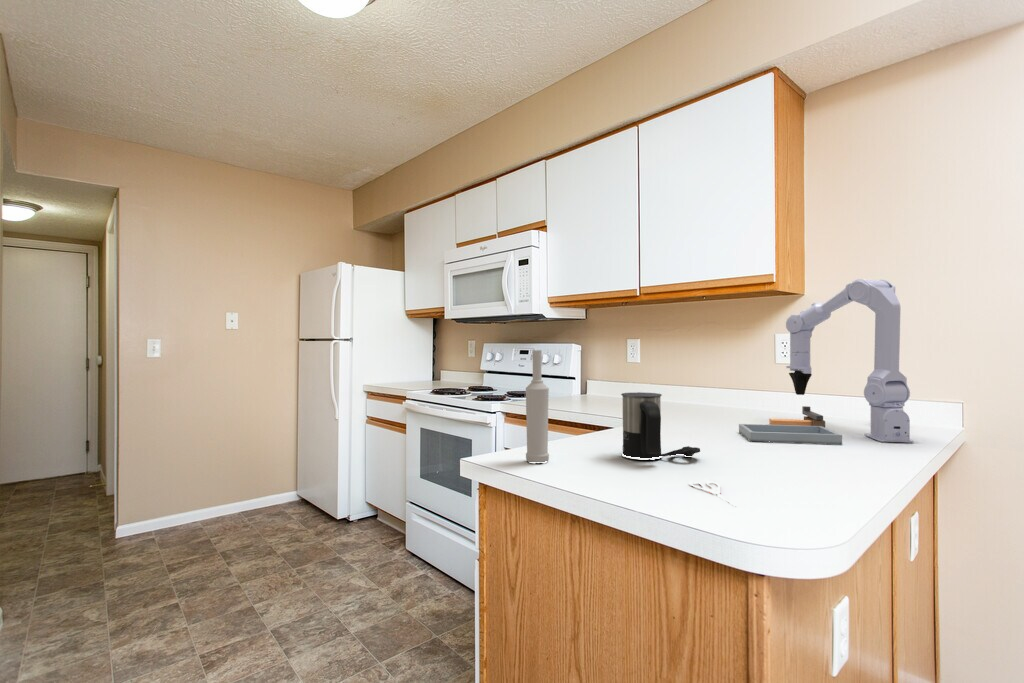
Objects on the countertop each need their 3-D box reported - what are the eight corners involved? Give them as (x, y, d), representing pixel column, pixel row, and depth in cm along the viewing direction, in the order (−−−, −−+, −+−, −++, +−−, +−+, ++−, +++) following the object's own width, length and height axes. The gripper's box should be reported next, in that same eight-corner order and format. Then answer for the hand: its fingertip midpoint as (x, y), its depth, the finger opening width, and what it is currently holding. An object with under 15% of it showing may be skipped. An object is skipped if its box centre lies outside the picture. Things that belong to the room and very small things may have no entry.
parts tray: (842, 444, 135) (842, 435, 135) (750, 441, 139) (750, 432, 139) (821, 435, 148) (821, 426, 148) (738, 432, 153) (738, 423, 153)
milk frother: (613, 454, 125) (613, 392, 124) (667, 449, 130) (667, 389, 130) (650, 468, 111) (650, 398, 111) (709, 461, 117) (708, 395, 117)
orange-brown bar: (823, 432, 155) (823, 422, 155) (771, 430, 158) (771, 420, 158) (820, 430, 158) (820, 420, 158) (769, 428, 162) (769, 418, 162)
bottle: (541, 465, 114) (541, 350, 114) (521, 462, 117) (521, 350, 117) (552, 460, 118) (552, 350, 118) (533, 458, 121) (532, 350, 121)
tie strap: (823, 420, 152) (823, 411, 152) (816, 419, 153) (816, 411, 153) (808, 414, 164) (808, 406, 164) (802, 413, 165) (802, 406, 165)
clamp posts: (825, 432, 152) (825, 421, 152) (814, 432, 153) (814, 420, 153) (814, 427, 161) (814, 416, 161) (803, 427, 162) (803, 416, 162)
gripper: (780, 351, 177) (780, 392, 177) (793, 353, 163) (793, 396, 163) (802, 351, 176) (802, 392, 176) (818, 353, 162) (818, 397, 162)
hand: (800, 394), depth 169 cm, fingers closed
